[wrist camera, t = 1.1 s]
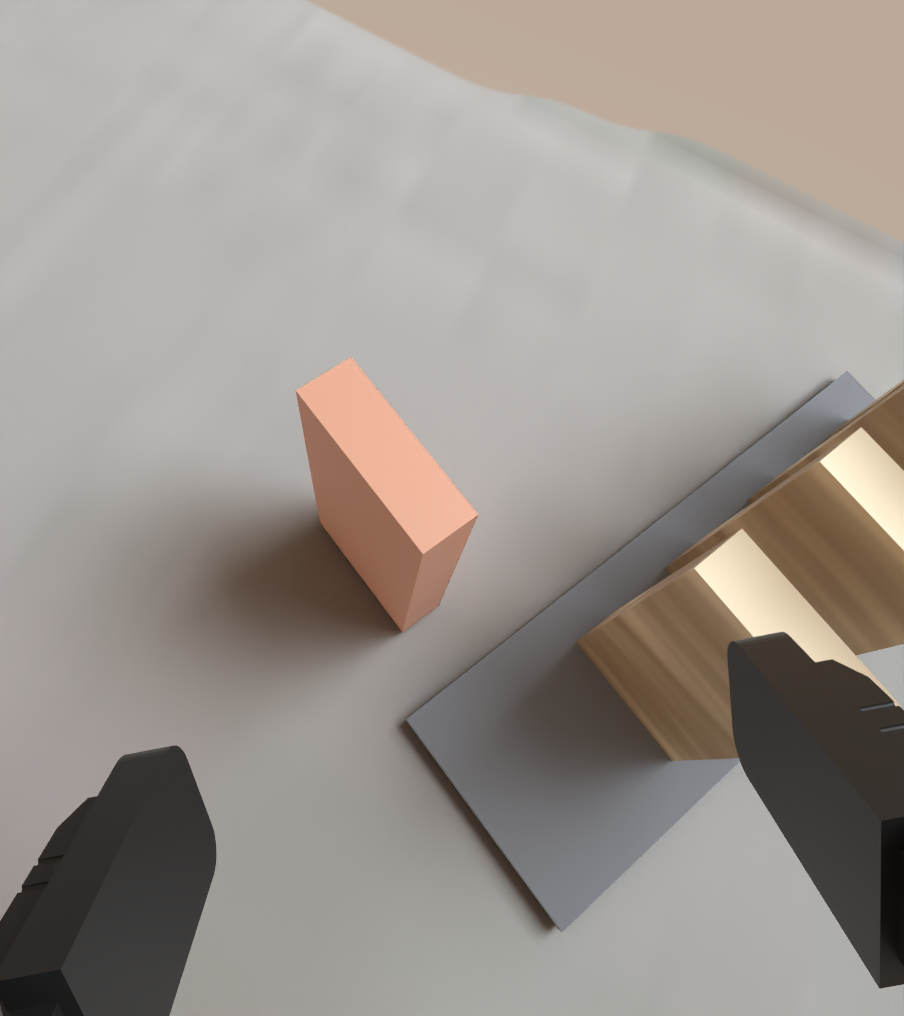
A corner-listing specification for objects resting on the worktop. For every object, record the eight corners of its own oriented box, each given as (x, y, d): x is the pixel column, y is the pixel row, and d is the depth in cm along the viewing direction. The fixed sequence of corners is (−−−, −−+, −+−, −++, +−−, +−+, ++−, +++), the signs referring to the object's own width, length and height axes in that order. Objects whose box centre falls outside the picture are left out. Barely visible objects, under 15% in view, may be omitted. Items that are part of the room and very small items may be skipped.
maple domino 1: (840, 603, 28) (1082, 516, 18) (747, 500, 29) (931, 368, 19) (867, 578, 28) (1117, 480, 19) (774, 478, 29) (967, 338, 20)
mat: (558, 928, 24) (561, 931, 23) (405, 719, 25) (406, 719, 25) (982, 521, 30) (991, 517, 30) (840, 376, 32) (847, 370, 31)
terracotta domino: (402, 632, 26) (423, 554, 17) (320, 522, 27) (295, 390, 18) (438, 605, 27) (478, 514, 17) (356, 498, 28) (350, 356, 18)
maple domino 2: (759, 678, 26) (975, 626, 17) (664, 567, 27) (819, 461, 18) (788, 651, 27) (1015, 585, 18) (694, 543, 28) (861, 426, 19)
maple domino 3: (672, 760, 25) (854, 753, 16) (576, 642, 26) (693, 568, 17) (705, 730, 26) (901, 705, 16) (609, 614, 27) (741, 528, 17)
